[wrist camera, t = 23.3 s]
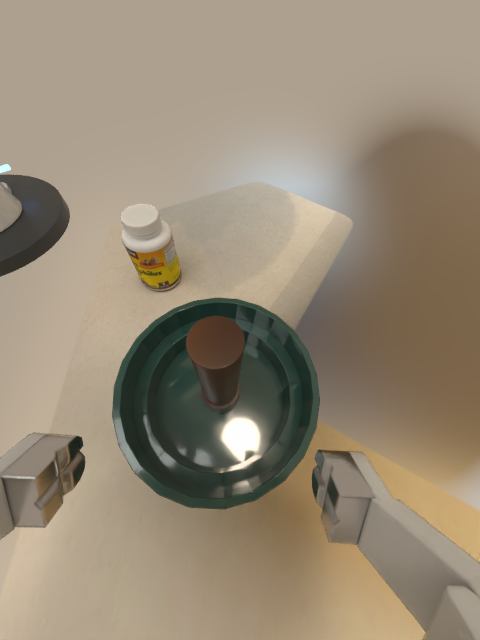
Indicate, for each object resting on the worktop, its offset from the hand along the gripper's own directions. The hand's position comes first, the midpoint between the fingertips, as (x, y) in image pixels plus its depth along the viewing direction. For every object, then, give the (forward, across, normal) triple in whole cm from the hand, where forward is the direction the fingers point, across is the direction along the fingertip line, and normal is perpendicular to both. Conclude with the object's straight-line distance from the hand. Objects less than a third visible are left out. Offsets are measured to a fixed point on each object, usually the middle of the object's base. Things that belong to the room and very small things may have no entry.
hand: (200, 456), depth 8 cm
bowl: (+16, 0, +8) cm, 17 cm away
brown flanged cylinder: (+15, 0, +8) cm, 17 cm away
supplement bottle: (+27, +10, -3) cm, 29 cm away
